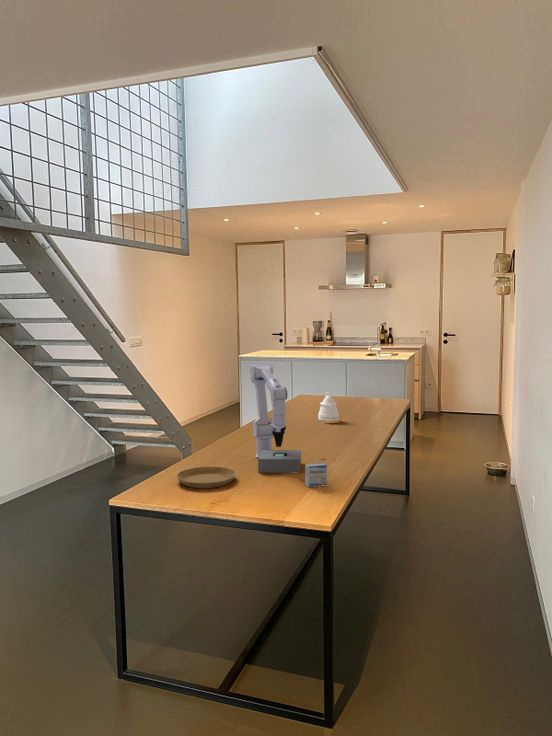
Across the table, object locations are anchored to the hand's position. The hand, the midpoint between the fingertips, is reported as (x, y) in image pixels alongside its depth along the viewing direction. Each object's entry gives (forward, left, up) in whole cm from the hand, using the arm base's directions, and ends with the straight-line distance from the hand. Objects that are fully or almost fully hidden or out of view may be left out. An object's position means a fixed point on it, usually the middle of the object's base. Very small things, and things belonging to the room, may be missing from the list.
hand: (279, 444), depth 255 cm
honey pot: (-103, +23, -11) cm, 107 cm away
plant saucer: (+22, -29, -11) cm, 37 cm away
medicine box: (+26, +16, -11) cm, 32 cm away
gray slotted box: (+1, 0, -10) cm, 10 cm away
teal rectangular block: (+1, 0, -10) cm, 10 cm away
